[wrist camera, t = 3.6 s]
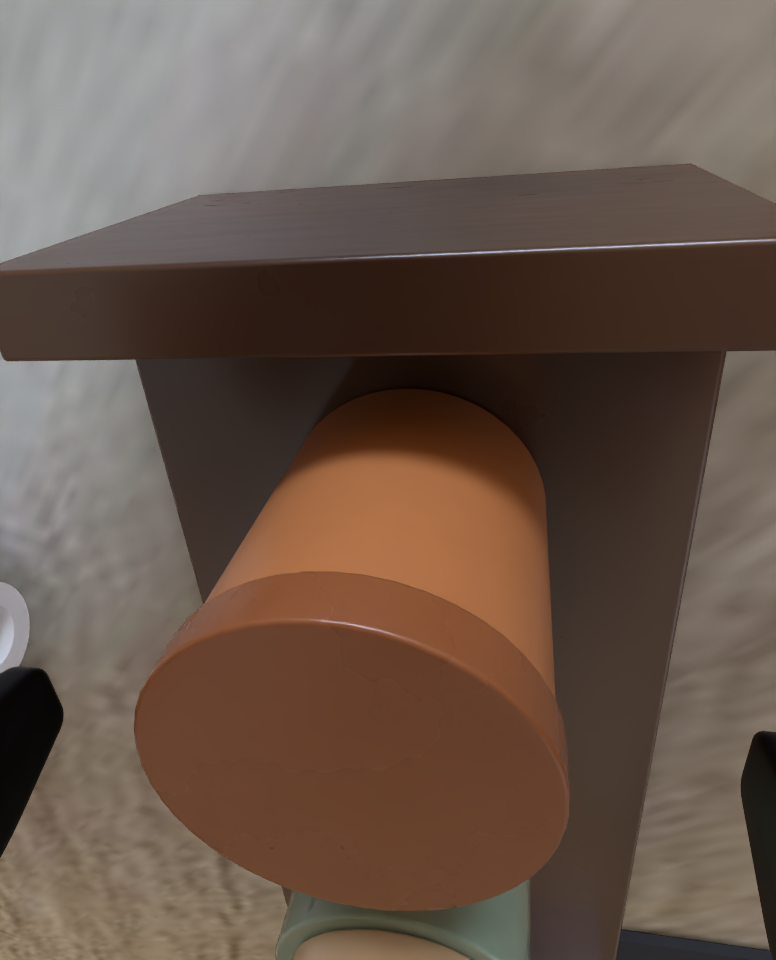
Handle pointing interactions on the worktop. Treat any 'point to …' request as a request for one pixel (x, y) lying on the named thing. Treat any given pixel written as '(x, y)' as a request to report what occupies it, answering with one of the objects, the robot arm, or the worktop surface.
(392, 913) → the sage jar
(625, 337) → the walnut shelf
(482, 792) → the copper tin
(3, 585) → the squeeze bottle
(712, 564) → the worktop surface
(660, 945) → the black rubber mat
